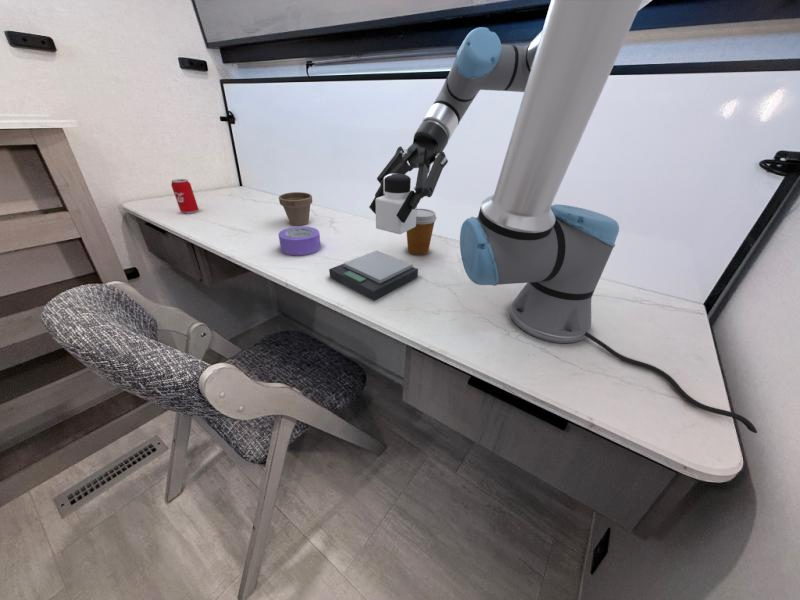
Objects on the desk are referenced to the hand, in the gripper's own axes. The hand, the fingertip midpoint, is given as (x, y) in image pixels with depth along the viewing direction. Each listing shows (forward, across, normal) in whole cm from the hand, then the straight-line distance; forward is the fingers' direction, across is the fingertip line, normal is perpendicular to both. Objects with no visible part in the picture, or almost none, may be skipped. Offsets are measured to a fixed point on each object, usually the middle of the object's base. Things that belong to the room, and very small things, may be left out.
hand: (386, 214), depth 69 cm
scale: (+13, +3, -11) cm, 17 cm away
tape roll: (+15, +33, -9) cm, 37 cm away
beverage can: (+23, +96, -2) cm, 98 cm away
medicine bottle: (0, 0, -5) cm, 5 cm away
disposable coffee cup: (-3, +6, -26) cm, 27 cm away
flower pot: (+6, +54, -18) cm, 57 cm away
